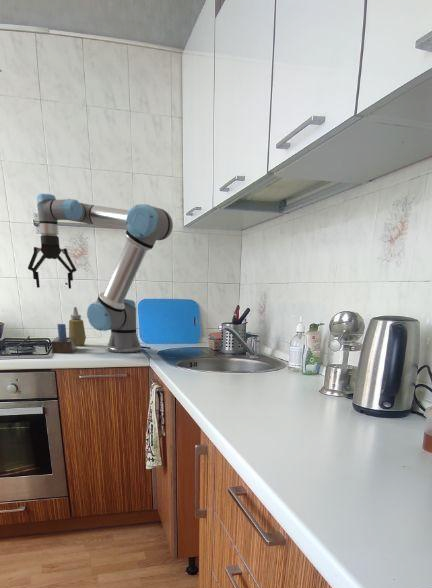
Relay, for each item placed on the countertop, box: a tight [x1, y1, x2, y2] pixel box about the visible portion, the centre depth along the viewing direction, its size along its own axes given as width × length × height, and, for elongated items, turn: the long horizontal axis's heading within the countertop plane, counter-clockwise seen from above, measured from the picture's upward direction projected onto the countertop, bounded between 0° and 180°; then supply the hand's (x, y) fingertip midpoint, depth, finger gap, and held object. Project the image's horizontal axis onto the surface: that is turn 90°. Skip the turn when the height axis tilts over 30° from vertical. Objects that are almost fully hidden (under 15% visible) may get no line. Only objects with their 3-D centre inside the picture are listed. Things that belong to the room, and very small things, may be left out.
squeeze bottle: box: [68, 306, 87, 347], centre depth 227 cm, size 8×8×18 cm
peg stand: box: [50, 336, 77, 354], centre depth 214 cm, size 9×15×5 cm, turn 9°
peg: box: [56, 323, 67, 341], centre depth 209 cm, size 3×3×12 cm
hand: (54, 288), depth 209 cm, fingers open, 13 cm apart
